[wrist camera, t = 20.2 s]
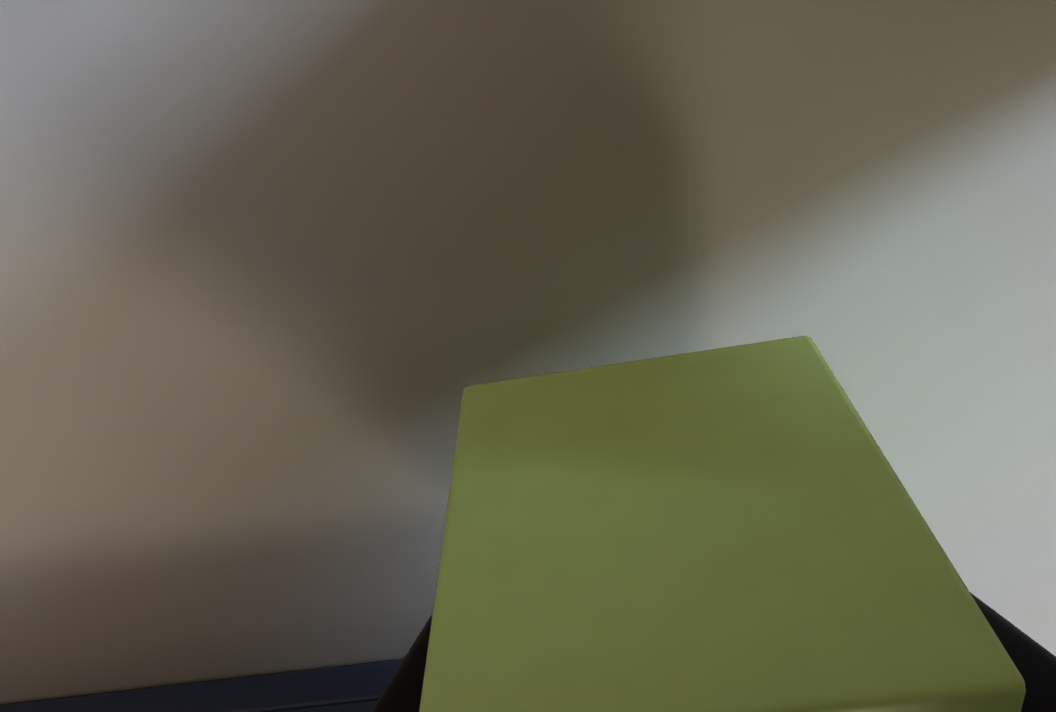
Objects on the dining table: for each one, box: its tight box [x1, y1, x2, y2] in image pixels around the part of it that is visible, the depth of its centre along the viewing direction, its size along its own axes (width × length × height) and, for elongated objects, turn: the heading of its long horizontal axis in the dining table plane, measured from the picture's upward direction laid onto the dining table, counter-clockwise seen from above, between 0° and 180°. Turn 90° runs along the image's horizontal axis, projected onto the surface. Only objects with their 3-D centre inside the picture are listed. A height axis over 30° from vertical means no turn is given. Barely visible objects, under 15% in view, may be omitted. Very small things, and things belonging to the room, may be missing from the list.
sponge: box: [419, 336, 1026, 712], centre depth 8 cm, size 4×5×4 cm
